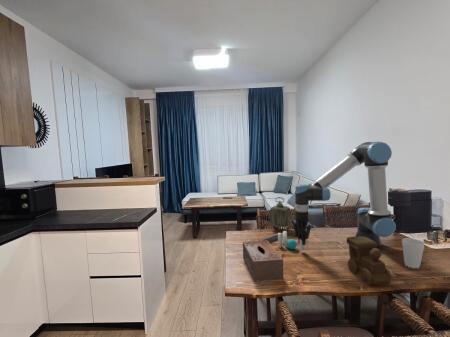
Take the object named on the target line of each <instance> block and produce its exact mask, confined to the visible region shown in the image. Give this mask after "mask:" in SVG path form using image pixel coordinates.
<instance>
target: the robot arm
mask: <svg viewBox="0 0 450 337" xmlns="http://www.w3.org/2000/svg"><path fill="white" fill-rule="evenodd" d="M392 155H393V153H392V149H391V146H389V145H388V144H387V143H386V142H382V141H365V142H363V143H361V144H359V145H358V146H356V147H355V148H354V149H352V150H351V151H350V152H348V154H347V156H346V157H345V158H344V159H342V160H341V161H339V162H338V163H337V164H336V165H334V166H333V167H332V168H330V169H329V170H328V171H327V172H326V173H324V174H322V176H321V177H319V178H318V179H316V180H315V181H313V183H308V184H303V183H301V184H300V183H299V184H296V185H295V187H294V188H295V190H294V195H295V196H294V201H295V204H294V207H295V208H294V210H295V215H294V216H295V218H294V220H291V224H292V225H293V231H294V235H295V238H297V239H298V241H297V242H298V245H299V248H298V249H299V251H304V250H305V245H306V240H308V239H309V238H310V234H311V228H312V227H313V224H312V223H310V220H309V209H310V208H309V206H310V205H309V203H310V202H311V201H312V202H315V201H317V202H320V201H321V202H324V201H325V202H326V201H329V200H330V199H331V190H330V189H329V188H328V187H330V186H331V185H332V184H334V183H335V182H336V181H337V180H339V179H341V178H342V177H343V176H344V175H346V174H348V172H350V171H351V170H352V169H354V168H355V167H359V166H361V165H362V164H364V167H365V169H367V178H368V179H367V180H368V193H369V206H370V207H359V208H358V209H357V213H356V214H357V230H356V234H355V236H354V237H357V236H362V237H367V238H369V239H371V240H373V241H375V242H376V243H377V249H379V248H380V247H382V240H381V238H387V237H390V236H392V235H393V234H394V233H395V231H396V230H397V229H396V228H397V225H396V223H395V221H394V220H393V219H392V212H391V211H390V209H388V197H387V196H388V195H387V194H388V193H387V177H386V168H387V167H388V165H389V160H390V159H391V158H392Z"/></svg>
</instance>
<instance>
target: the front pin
mask: <svg viewBox="0 0 450 337" xmlns="http://www.w3.org/2000/svg"><path fill="white" fill-rule="evenodd" d="M283 239H284V243H285V245H284V247H285V248H288V247H287V241H288V240H289V239H288V233H287V234H286V233H283V232H282V240H283Z"/></svg>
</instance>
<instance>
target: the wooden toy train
mask: <svg viewBox="0 0 450 337" xmlns="http://www.w3.org/2000/svg"><path fill="white" fill-rule="evenodd" d="M346 243H347V244H348V254H349V259H348V261H347V267H348V270H349V272H350V273H352V274H353V275H357V273H359V274H360V277H361V281H363V283H364V284H365V285H367V286H370V285H372V284H374V285H381V284H387V285H388V284H391V281H392V274H391V272H390V270H388V268H386V264H385V262H383V261H382V260H380V259H381V256H382V251H380V249H379V248H377V243H376V242H375V241H373V240H371V239H369V238H367V237H362V236H357V237H355V236H349V237H348V236H347V237H346Z"/></svg>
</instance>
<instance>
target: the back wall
mask: <svg viewBox="0 0 450 337" xmlns="http://www.w3.org/2000/svg"><path fill="white" fill-rule="evenodd" d="M278 233H279V232H277V233H274V234H272V235H268V236H266V237H263V238H261V239H258V240H257V241H265V240H268V242H269V243H270V242H274V241H277V240H278Z"/></svg>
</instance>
